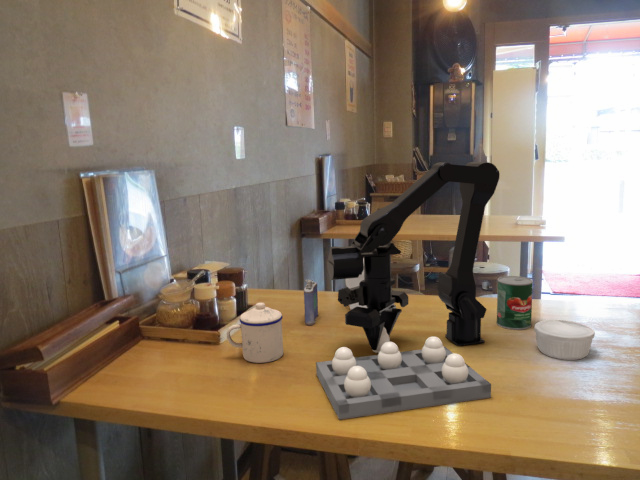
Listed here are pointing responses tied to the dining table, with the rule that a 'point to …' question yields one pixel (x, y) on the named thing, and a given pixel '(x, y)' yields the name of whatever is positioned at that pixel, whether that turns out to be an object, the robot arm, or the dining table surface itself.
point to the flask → (310, 302)
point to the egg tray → (398, 380)
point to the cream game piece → (382, 340)
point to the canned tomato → (514, 302)
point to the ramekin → (564, 339)
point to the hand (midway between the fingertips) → (379, 345)
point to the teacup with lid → (260, 334)
